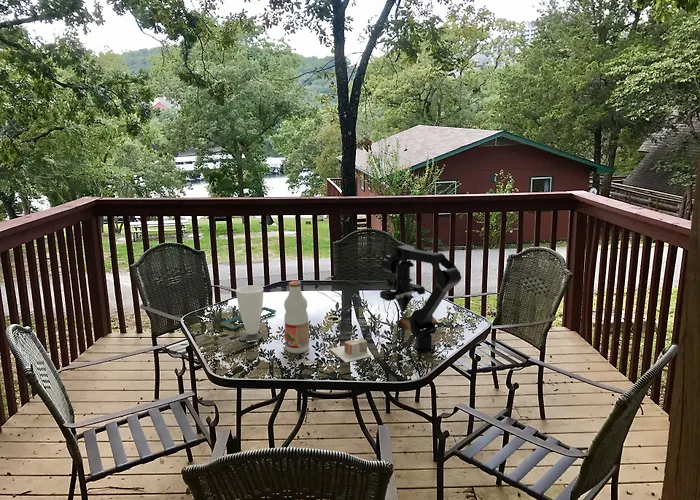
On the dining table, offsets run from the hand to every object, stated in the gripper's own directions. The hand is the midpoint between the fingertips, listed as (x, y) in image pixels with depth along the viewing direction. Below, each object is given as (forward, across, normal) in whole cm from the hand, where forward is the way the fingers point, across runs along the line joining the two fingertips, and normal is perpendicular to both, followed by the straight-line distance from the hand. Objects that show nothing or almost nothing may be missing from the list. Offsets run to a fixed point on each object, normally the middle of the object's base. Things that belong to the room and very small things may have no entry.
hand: (402, 312), depth 215 cm
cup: (+12, +54, -34) cm, 65 cm away
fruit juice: (+12, +42, -13) cm, 46 cm away
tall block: (+10, +19, +1) cm, 21 cm away
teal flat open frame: (+13, +49, -55) cm, 75 cm away
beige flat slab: (+12, +26, +1) cm, 28 cm away
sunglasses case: (+13, -16, -10) cm, 23 cm away
